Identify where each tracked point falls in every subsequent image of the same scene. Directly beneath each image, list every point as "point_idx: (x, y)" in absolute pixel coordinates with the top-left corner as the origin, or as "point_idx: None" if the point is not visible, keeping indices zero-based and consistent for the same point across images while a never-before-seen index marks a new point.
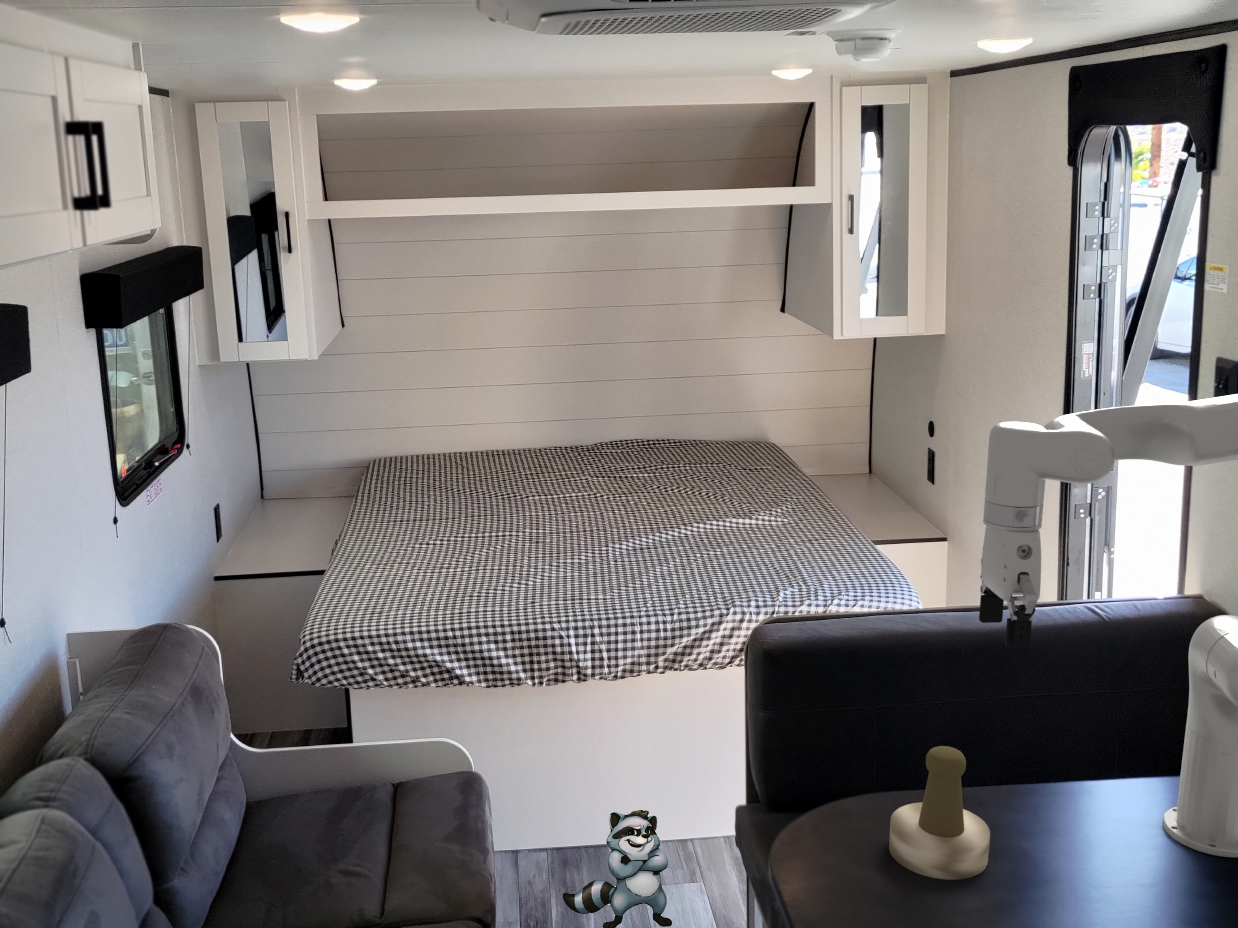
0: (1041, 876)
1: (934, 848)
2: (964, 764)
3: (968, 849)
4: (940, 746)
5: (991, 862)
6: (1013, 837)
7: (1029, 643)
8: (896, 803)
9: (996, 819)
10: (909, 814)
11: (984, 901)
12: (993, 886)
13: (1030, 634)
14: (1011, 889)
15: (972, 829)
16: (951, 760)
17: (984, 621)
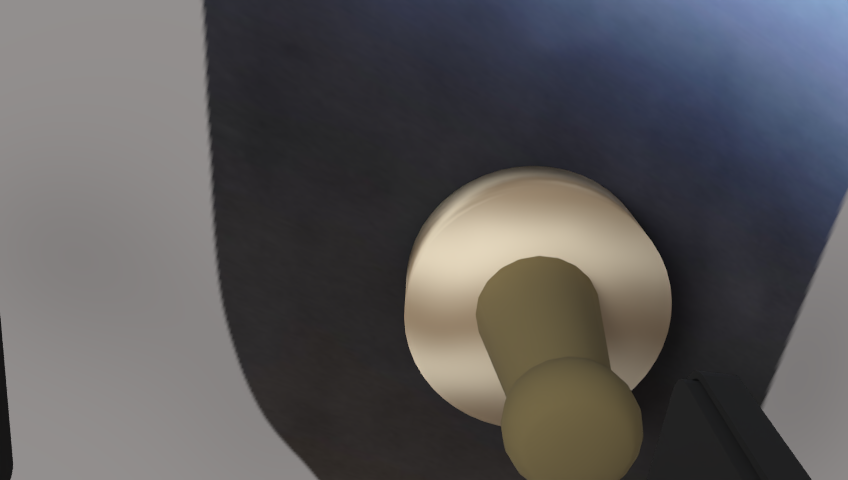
0: (697, 78)
1: (638, 374)
2: (626, 392)
3: (667, 298)
4: (531, 452)
5: (601, 174)
6: (499, 50)
7: (743, 390)
8: (271, 282)
9: (395, 48)
10: (462, 365)
11: (747, 270)
12: (699, 221)
13: (791, 452)
14: (724, 185)
15: (575, 241)
16: (634, 454)
17: (8, 459)
